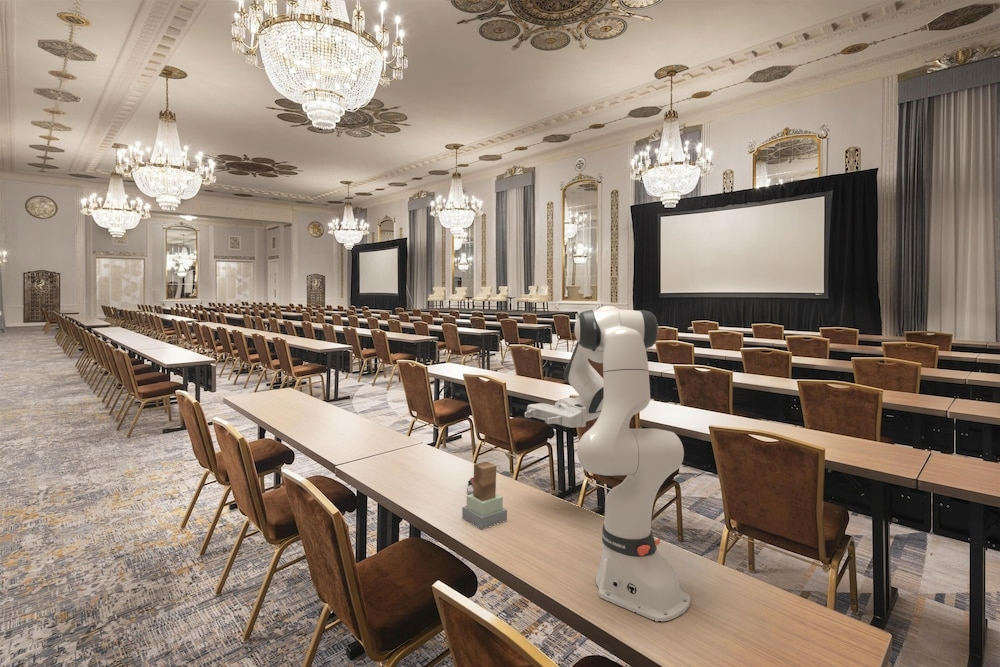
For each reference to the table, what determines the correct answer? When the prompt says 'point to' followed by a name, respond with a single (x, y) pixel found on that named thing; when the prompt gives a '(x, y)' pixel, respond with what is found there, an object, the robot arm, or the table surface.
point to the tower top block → (484, 504)
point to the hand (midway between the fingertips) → (536, 418)
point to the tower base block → (484, 517)
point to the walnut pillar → (484, 481)
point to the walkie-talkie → (470, 486)
